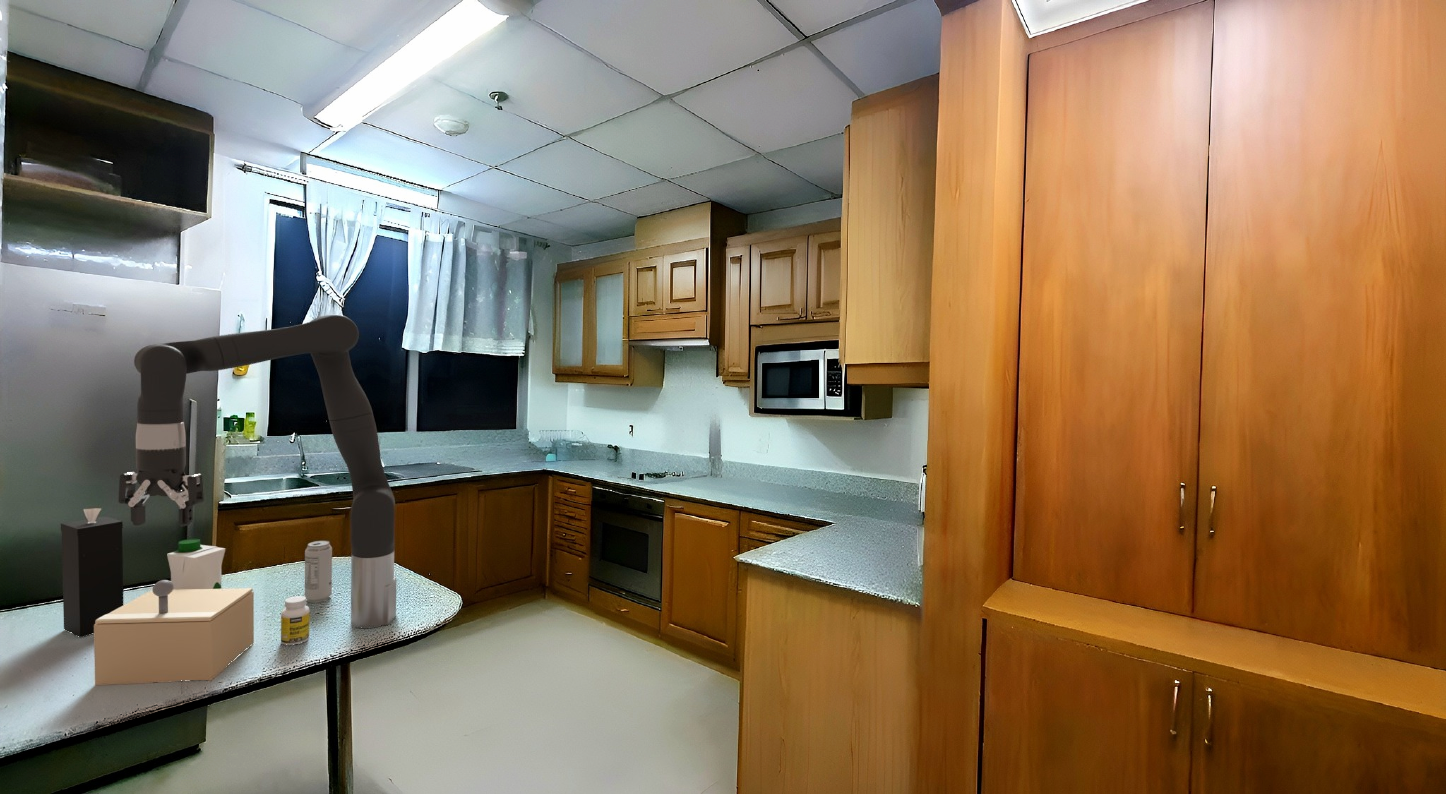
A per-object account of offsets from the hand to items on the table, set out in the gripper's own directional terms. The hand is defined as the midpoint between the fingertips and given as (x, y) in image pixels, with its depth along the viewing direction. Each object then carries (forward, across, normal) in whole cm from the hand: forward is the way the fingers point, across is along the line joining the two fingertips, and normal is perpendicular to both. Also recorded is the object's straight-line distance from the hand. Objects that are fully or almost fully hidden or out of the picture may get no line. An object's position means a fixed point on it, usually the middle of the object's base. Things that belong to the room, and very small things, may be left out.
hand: (161, 524), depth 130 cm
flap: (+18, -1, -3) cm, 18 cm away
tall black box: (+30, +29, -19) cm, 46 cm away
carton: (+30, -1, -3) cm, 30 cm away
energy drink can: (+30, -11, -38) cm, 50 cm away
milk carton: (+30, +8, -21) cm, 38 cm away
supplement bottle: (+30, -18, -14) cm, 38 cm away
